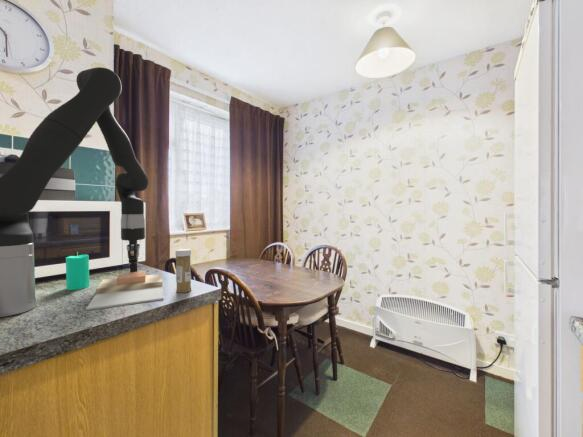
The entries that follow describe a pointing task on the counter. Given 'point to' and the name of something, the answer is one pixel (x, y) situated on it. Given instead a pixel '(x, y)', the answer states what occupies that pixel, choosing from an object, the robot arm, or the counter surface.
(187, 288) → the sprinkles bottle
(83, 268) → the candle
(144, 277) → the tile
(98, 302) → the mat
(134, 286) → the deck
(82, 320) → the counter surface
